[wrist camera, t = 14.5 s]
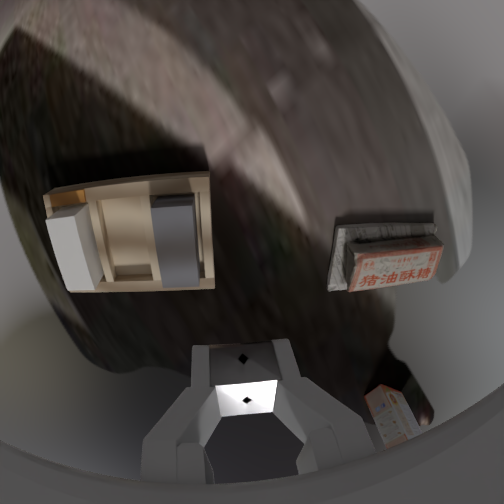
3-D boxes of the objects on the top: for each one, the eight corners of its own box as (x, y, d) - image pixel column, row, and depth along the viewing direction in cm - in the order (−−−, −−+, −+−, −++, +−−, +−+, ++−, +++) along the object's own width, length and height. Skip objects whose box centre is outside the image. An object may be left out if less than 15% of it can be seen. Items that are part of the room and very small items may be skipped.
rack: (55, 188, 27) (31, 202, 22) (209, 170, 29) (208, 182, 24) (78, 279, 33) (63, 303, 28) (214, 274, 35) (215, 301, 30)
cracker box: (361, 396, 57) (391, 465, 39) (381, 382, 55) (415, 451, 37) (384, 403, 63) (411, 461, 44) (401, 391, 61) (431, 449, 43)
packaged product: (451, 233, 32) (433, 290, 37) (432, 219, 36) (418, 274, 41) (348, 239, 30) (336, 307, 35) (333, 222, 34) (324, 286, 39)
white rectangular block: (61, 207, 27) (45, 220, 23) (88, 203, 27) (74, 215, 23) (79, 272, 31) (67, 290, 27) (105, 271, 31) (95, 290, 28)
